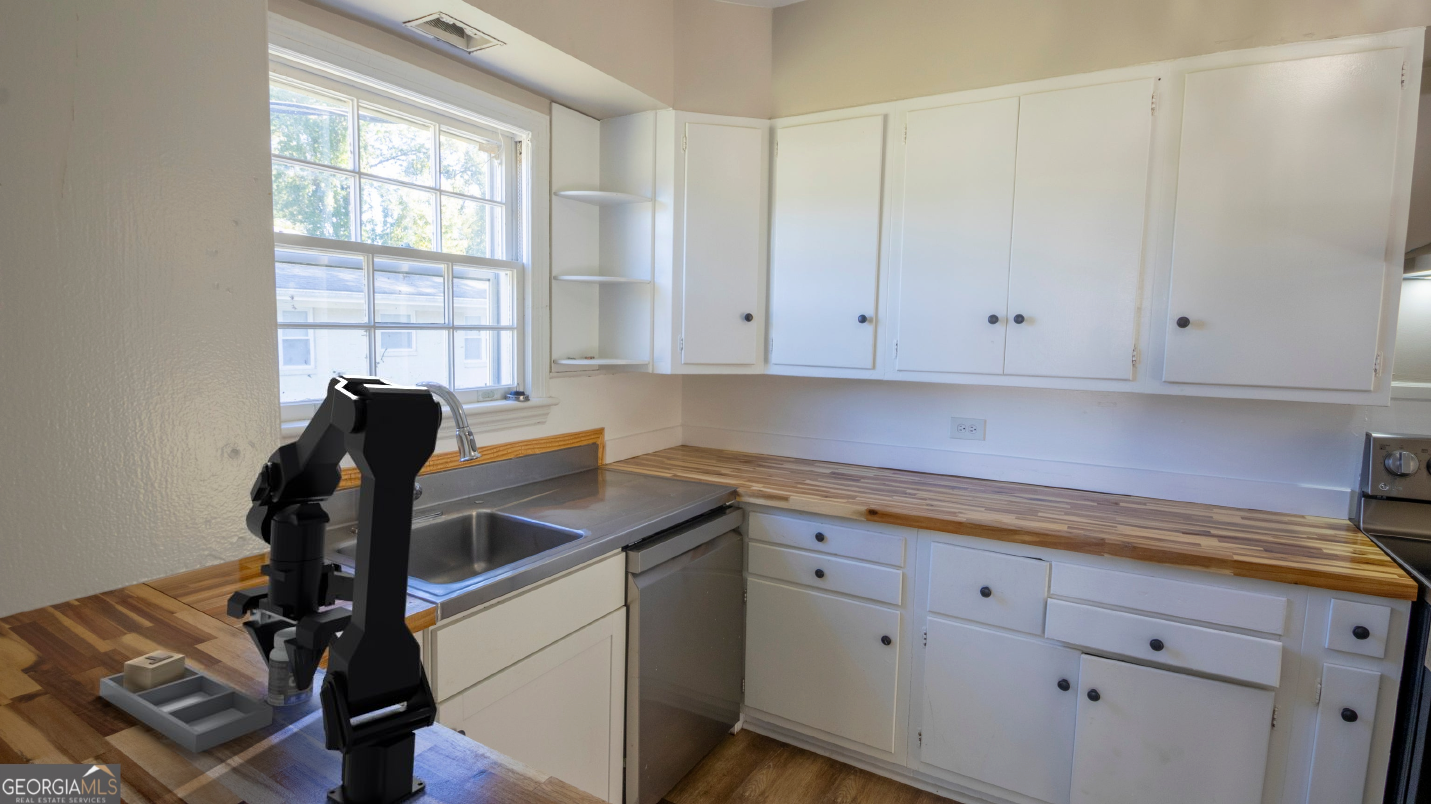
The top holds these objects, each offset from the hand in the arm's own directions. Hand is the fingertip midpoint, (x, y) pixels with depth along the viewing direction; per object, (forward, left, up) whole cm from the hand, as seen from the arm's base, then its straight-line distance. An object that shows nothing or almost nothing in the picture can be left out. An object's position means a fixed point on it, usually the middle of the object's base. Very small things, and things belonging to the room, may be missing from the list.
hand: (291, 684), depth 83 cm
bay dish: (+6, +8, -2) cm, 11 cm away
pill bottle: (0, 0, -2) cm, 2 cm away
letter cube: (+13, +8, -2) cm, 16 cm away
